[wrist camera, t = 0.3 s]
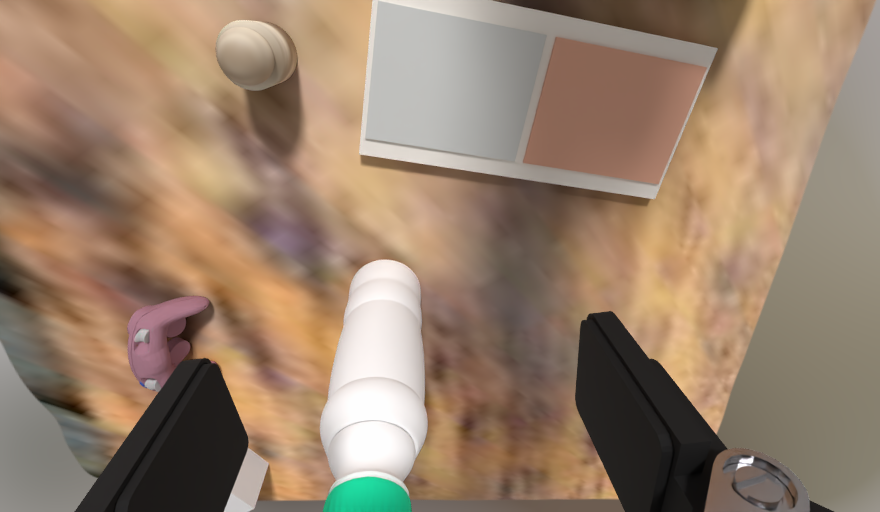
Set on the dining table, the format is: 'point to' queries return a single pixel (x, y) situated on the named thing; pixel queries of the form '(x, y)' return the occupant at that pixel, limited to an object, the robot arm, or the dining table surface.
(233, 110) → the dining table surface
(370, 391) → the water bottle
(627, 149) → the board
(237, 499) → the light grey cube
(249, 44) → the pawn
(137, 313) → the video game controller
